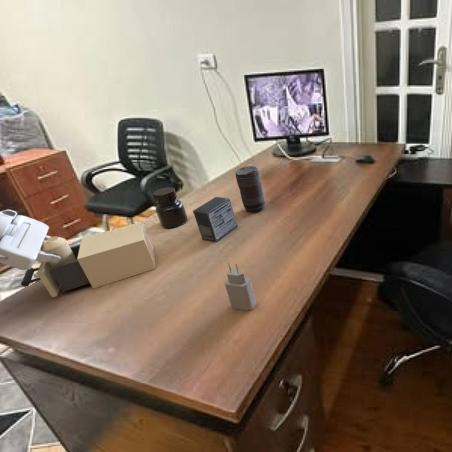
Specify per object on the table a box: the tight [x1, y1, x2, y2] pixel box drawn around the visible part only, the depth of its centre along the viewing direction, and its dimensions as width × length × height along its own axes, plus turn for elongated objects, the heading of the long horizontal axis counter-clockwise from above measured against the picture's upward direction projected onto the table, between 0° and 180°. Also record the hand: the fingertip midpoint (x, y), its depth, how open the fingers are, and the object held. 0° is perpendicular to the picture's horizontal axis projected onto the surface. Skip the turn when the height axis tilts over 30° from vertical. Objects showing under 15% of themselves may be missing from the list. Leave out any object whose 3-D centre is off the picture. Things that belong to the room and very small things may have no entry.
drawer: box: [20, 243, 90, 298], centre depth 94 cm, size 19×11×8 cm, turn 118°
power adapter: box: [223, 262, 257, 312], centre depth 79 cm, size 3×5×12 cm, turn 73°
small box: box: [192, 196, 238, 243], centre depth 111 cm, size 11×6×10 cm, turn 154°
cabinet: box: [77, 221, 157, 289], centre depth 98 cm, size 16×13×10 cm
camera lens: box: [234, 165, 266, 214], centre depth 123 cm, size 8×8×15 cm
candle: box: [40, 235, 77, 267], centre depth 91 cm, size 6×6×10 cm
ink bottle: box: [152, 186, 188, 229], centre depth 120 cm, size 10×9×12 cm
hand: (61, 253), depth 91 cm, fingers closed on candle, 5 cm apart
